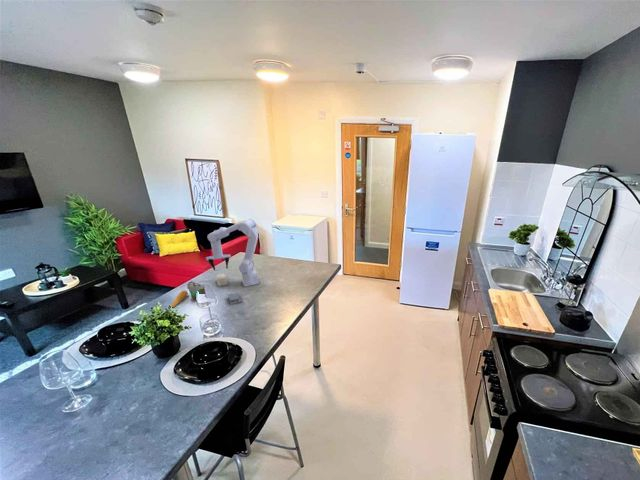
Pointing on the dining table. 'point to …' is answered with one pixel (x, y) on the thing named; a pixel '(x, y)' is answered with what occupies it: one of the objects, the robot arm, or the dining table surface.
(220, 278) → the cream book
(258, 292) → the dining table surface
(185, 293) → the carrot
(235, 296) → the grey stack
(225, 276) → the cream stack
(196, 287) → the food container
